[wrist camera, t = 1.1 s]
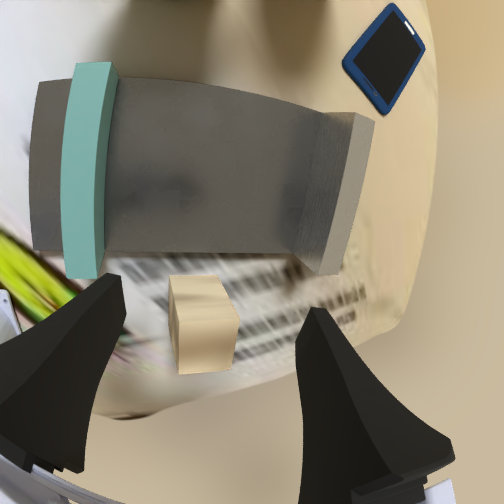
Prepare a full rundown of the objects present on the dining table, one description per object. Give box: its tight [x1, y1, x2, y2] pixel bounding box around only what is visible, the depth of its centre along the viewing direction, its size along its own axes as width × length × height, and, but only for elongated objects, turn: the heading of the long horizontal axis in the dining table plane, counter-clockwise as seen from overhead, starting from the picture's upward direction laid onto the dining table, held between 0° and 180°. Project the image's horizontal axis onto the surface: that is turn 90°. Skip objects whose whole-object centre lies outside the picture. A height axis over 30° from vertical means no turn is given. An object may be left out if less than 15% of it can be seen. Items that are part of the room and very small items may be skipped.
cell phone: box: [342, 3, 426, 115], centre depth 19 cm, size 7×14×1 cm, turn 143°
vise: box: [29, 77, 375, 276], centre depth 16 cm, size 12×24×5 cm, turn 79°
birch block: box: [169, 275, 240, 374], centre depth 20 cm, size 5×4×6 cm
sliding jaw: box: [60, 62, 119, 279], centre depth 13 cm, size 12×2×4 cm, turn 169°
